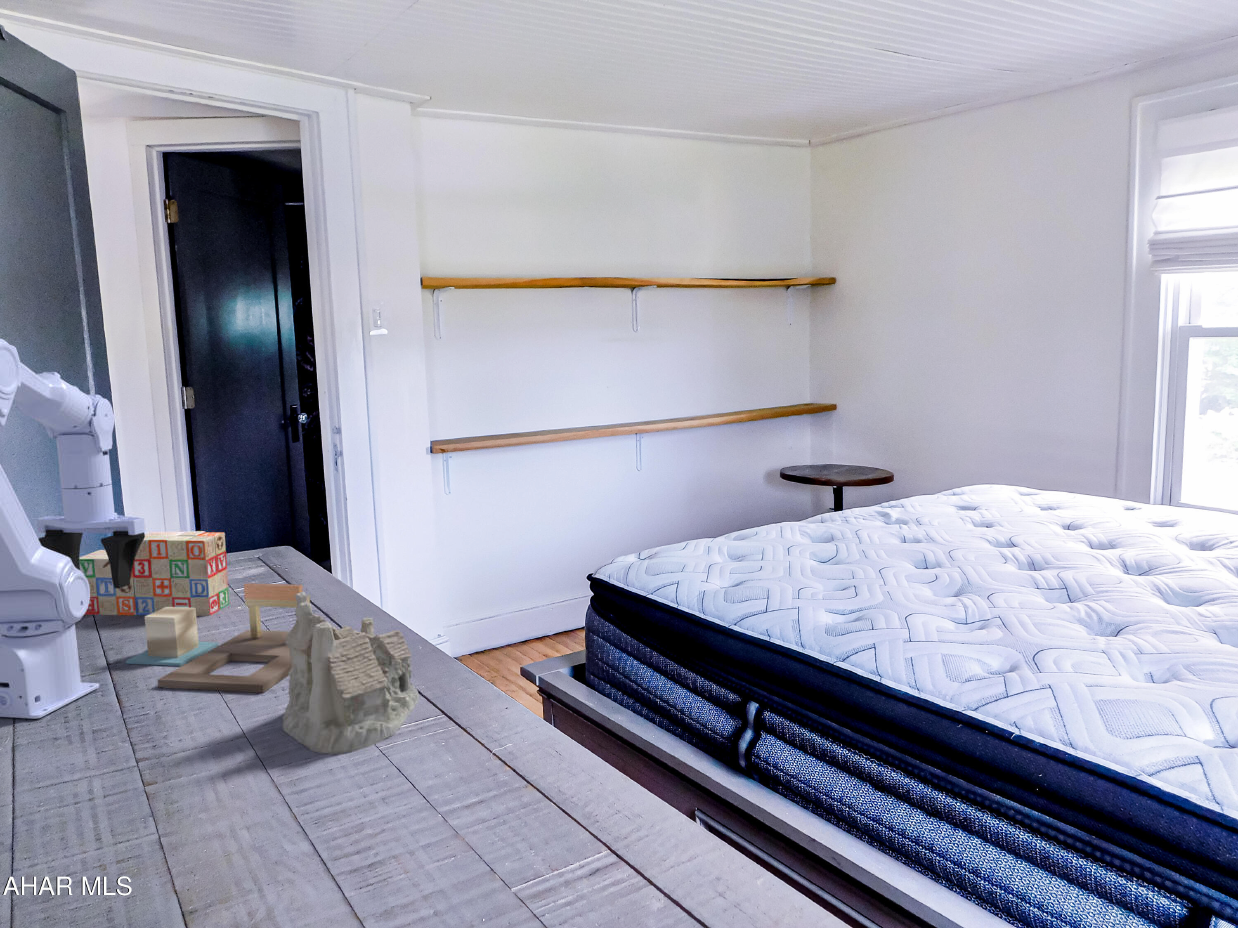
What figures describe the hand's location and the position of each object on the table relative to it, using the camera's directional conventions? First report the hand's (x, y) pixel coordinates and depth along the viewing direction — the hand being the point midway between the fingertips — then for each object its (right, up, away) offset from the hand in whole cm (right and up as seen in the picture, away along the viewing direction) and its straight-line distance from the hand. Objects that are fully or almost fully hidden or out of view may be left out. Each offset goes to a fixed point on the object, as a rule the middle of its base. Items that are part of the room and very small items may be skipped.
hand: (96, 585), depth 116 cm
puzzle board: (+22, -10, -2) cm, 24 cm away
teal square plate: (+9, -10, +2) cm, 14 cm away
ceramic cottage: (+41, -12, -19) cm, 47 cm away
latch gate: (+23, -8, +4) cm, 25 cm away
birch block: (+9, -9, +2) cm, 13 cm away
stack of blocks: (-4, -7, +23) cm, 24 cm away
